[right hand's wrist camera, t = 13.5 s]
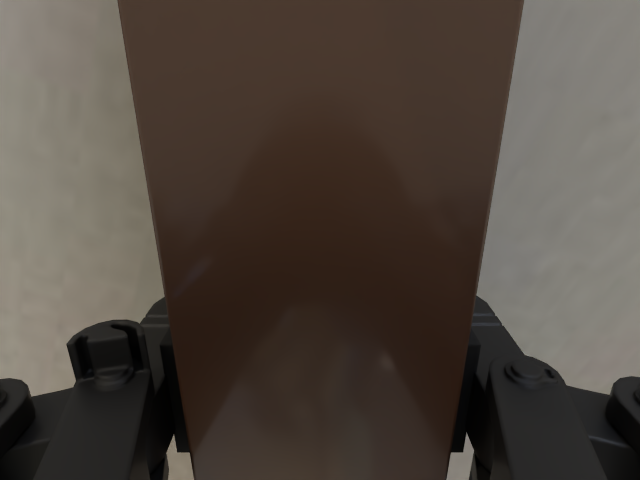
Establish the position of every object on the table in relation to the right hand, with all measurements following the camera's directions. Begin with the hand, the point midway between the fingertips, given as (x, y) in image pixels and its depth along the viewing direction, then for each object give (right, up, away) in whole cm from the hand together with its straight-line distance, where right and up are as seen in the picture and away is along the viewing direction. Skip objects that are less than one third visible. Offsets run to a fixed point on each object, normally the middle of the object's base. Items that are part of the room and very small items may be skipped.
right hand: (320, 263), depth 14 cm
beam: (0, +10, -5) cm, 11 cm away
